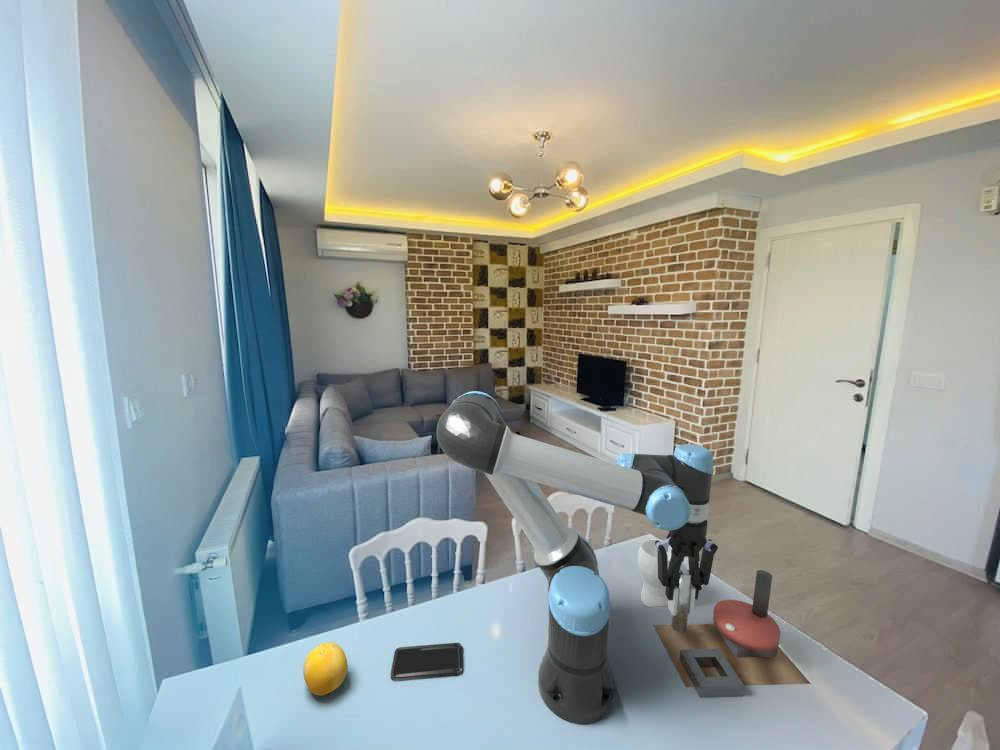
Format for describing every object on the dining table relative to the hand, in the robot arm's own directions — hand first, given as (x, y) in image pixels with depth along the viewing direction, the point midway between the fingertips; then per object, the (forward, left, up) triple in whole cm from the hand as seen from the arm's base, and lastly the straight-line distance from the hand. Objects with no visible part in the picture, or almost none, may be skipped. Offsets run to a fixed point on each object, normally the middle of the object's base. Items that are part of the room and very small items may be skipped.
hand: (680, 610), depth 92 cm
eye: (+2, -10, -7) cm, 12 cm away
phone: (-57, -3, -9) cm, 58 cm away
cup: (+1, +14, -9) cm, 17 cm away
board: (+9, -4, -9) cm, 13 cm away
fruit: (-77, -8, -9) cm, 78 cm away
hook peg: (0, 0, -4) cm, 4 cm away
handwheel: (+15, -1, -4) cm, 15 cm away
